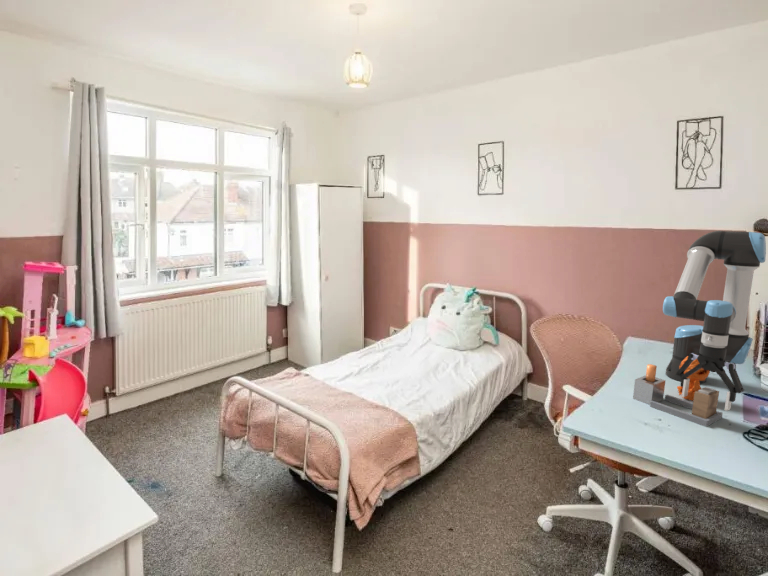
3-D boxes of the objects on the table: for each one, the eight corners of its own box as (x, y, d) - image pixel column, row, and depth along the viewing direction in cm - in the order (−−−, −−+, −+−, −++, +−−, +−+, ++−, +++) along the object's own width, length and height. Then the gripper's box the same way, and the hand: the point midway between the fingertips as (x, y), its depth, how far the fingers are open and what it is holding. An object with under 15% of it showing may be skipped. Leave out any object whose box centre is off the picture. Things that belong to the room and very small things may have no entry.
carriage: (701, 412, 170) (705, 385, 168) (715, 417, 167) (719, 389, 165) (691, 418, 166) (694, 390, 164) (705, 423, 162) (709, 394, 160)
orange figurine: (713, 404, 178) (719, 360, 174) (681, 402, 180) (687, 357, 176) (699, 393, 188) (705, 350, 185) (670, 391, 190) (675, 348, 187)
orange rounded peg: (648, 378, 183) (649, 363, 182) (656, 380, 180) (658, 366, 179) (643, 379, 181) (645, 365, 180) (652, 382, 179) (653, 367, 178)
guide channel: (666, 399, 182) (667, 394, 182) (721, 417, 167) (722, 412, 166) (650, 406, 176) (650, 401, 175) (706, 426, 160) (706, 421, 160)
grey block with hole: (645, 393, 188) (647, 374, 186) (663, 399, 182) (665, 380, 180) (632, 398, 183) (635, 379, 181) (651, 405, 177) (653, 385, 176)
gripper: (670, 337, 169) (663, 392, 173) (752, 356, 149) (742, 418, 153) (680, 335, 174) (673, 388, 177) (761, 352, 153) (751, 413, 157)
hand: (705, 402), depth 165 cm, fingers open, 13 cm apart
